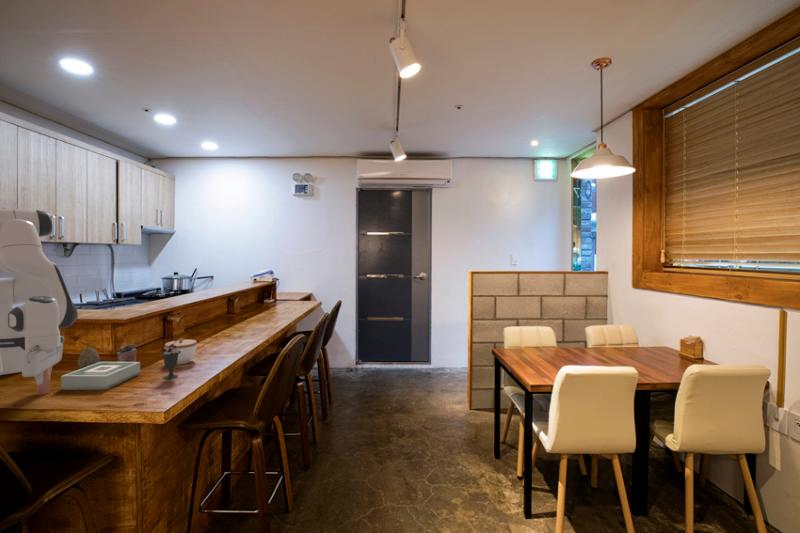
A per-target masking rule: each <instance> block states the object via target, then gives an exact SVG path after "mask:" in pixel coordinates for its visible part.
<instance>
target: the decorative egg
mask: <svg viewBox="0 0 800 533" xmlns="http://www.w3.org/2000/svg"><path fill="white" fill-rule="evenodd" d="M82 350H83V351H81V353H80V354H79V355H78V358H77V366H78V367H79V369H82V368H85V367H87V366H90V365H93V364H96V363H98V362H101V358H100V354H99V353H98V351H97V350H96V349H94V348H93V347H91V346H90V347H89V346H88V347H86V348H84V349H82Z"/></svg>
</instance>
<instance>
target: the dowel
mask: <svg viewBox="0 0 800 533" xmlns="http://www.w3.org/2000/svg"><path fill="white" fill-rule="evenodd" d="M43 378H45V380H44V381H45V382H44V383H43V384H38V385H37V384H36V395H38V396H43V395H47V393H48V394H49V393H50V392H51V383H50V382H51V380H50V379H51V378H50V368H48V369H47V370H45V371H43Z"/></svg>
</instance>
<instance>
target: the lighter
mask: <svg viewBox="0 0 800 533" xmlns="http://www.w3.org/2000/svg"><path fill="white" fill-rule="evenodd" d="M135 346H136V344H135V343H131V344H126V345H125V344H124V345H123V346H120V347H119V349H120V351H119V352H116V355H117V362H137V351H138V350H137V348H135Z"/></svg>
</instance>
